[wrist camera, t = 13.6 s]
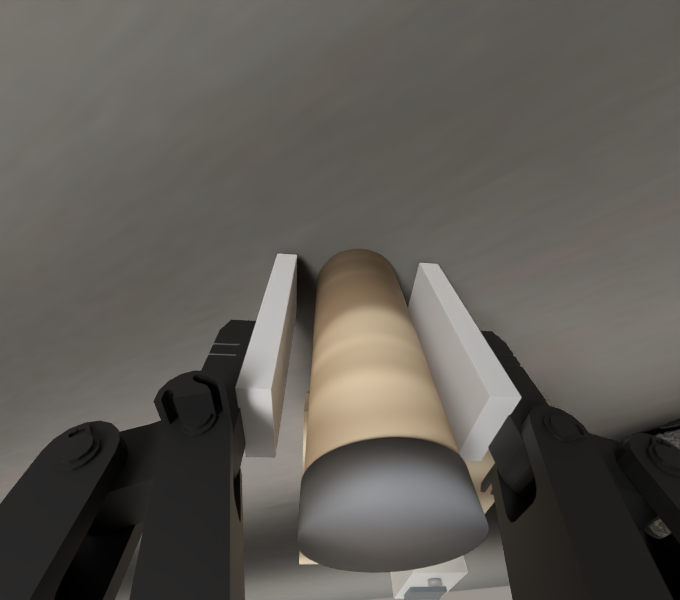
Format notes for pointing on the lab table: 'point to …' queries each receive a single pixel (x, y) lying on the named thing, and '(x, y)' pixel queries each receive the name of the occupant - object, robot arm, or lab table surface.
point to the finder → (428, 580)
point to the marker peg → (378, 434)
